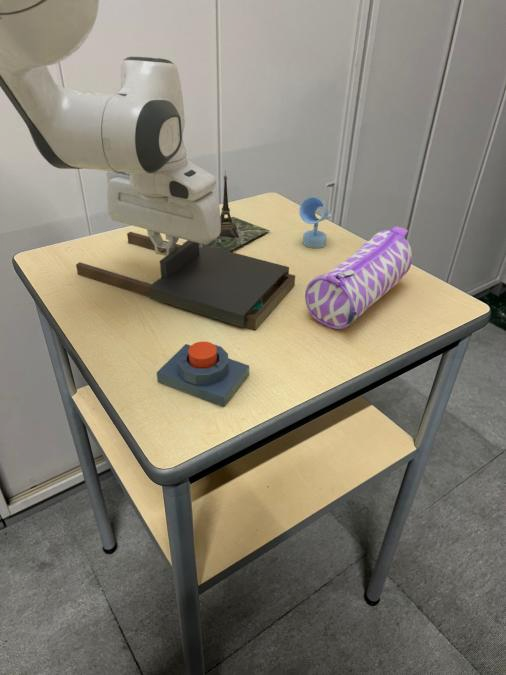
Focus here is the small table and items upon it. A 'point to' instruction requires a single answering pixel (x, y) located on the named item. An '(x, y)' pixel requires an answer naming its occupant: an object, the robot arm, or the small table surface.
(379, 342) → the small table surface
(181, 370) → the button block
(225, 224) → the eiffel tower figurine
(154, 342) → the small table surface
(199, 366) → the button
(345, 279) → the pencil case
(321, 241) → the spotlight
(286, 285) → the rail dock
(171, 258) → the lid
